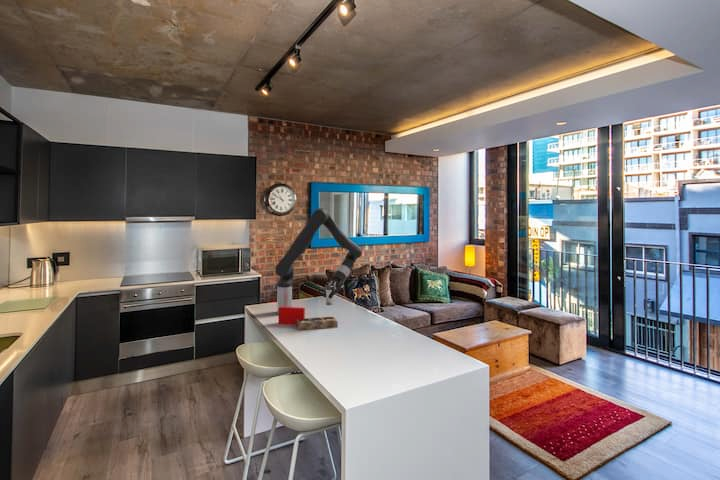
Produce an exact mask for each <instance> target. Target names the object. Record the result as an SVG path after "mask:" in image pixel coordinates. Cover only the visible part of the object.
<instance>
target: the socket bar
mask: <svg viewBox="0 0 720 480" xmlns="http://www.w3.org/2000/svg"><path fill="white" fill-rule="evenodd" d="M338 322H339V321H338V319H336V318H335V317H334V316H332V315H331V316H319V317H308V318H307V317H305V318H304V321H301V322H300V319H297V325H296V327H297V328H298V330H299V331H303V330H304V331H305V330H319V329H330V328H338Z"/></svg>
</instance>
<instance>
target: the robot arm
mask: <svg viewBox="0 0 720 480" xmlns="http://www.w3.org/2000/svg"><path fill="white" fill-rule="evenodd" d="M322 225H323V226H324V227H325V228H327V231H329V232H330V234H331V236H332V238H334V240H335V241H336V243H337V244H338V245H339V246H340V247H341V248H342V249H343V250H347V251H348V252H347V253H346V255H345V258H344V259H343V261H342V263H341V264H340V265H339V266H338V268H337V269H336V271H334V273H333V275H332V278H331V280H330V281H328V280H326V281H325V285H324V287H323V290H324V292H323V294H322V297H323V298H326V289H325V286H326V285H333V290H332V292H331V293H330V294H329V296H328V297H329V299H331V298H332V297H334V295H335V294H337V295H338V294H339V293H340V292H341V291H342V290H343V289H344V288H345V285H344V283H345V282H346V280H347V278H348V276H349V275H350V273H351V271H352V269H353V268H354V267H355V262H356V261H357V260H358V259H359V258H361V257H362V255H363V250H362V248H361V247H360V246H359V245H358V244H356V243H355V242H353V240H351V239H350V238H349V237H348V236H347V234H345V233H344V231H343V230H342V229H341V228H340V227H339V226H338V224H337V223H336V222H335V220H334V219H333V218H332V216H331V215H330V213H329V211H328V210H327V209H326V208H323V207H318V208H316V209H314V211H313V212H312V213H311V216H310V218H309V219H308V221H307V223H306V225H305V226H304V227H303V228H302V229H301V231H299V232H300V233H299V234H297V236H296V238H294V241H293V242H292V244H291V245H290V247H289V248H288V249H287V251H286V253H285V255H283V257H282V258H281V259H280V261H278V263H276V266H275V269H274V271H275V274H276V276H277V277H280V278H279V280H278V281H277V287H276V288H277V289H276V291H277V292H276V293H277V298H276V299H277V300H276V304H277V305H276V309H277V310H276V313H277V314H278V315H279V308H280V307H293V283H294V273H295V272H294V270H295V269H294V265H293V264H294V262H295V261H296V260H297V259H298V258H300V257H301V255H303V254H304V253H305V251H307V249H308V247H310V245H311V243H312V242H313V239H314V236H315V234H316V232H317V231H318V230H319V228H320V227H321V226H322Z"/></svg>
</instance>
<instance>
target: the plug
mask: <svg viewBox="0 0 720 480" xmlns="http://www.w3.org/2000/svg"><path fill="white" fill-rule="evenodd" d="M324 286H325V285H324ZM325 289H326V297H325V306H333V302H334V300H333V297H334V296H333V297H332V298H331V299H329V297H328V296H329V294H330V293H331V292H332V290H333V285H326V286H325ZM325 289H324V290H325Z"/></svg>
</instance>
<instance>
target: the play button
mask: <svg viewBox="0 0 720 480" xmlns="http://www.w3.org/2000/svg"><path fill="white" fill-rule="evenodd" d="M304 318H306V309H305V307H298V306H297V307H296V306H292V307H280V308H279V314H278V322H277V323H278V325H288V324H290V325H292V326H297V319H300V322H301V321H304Z"/></svg>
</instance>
